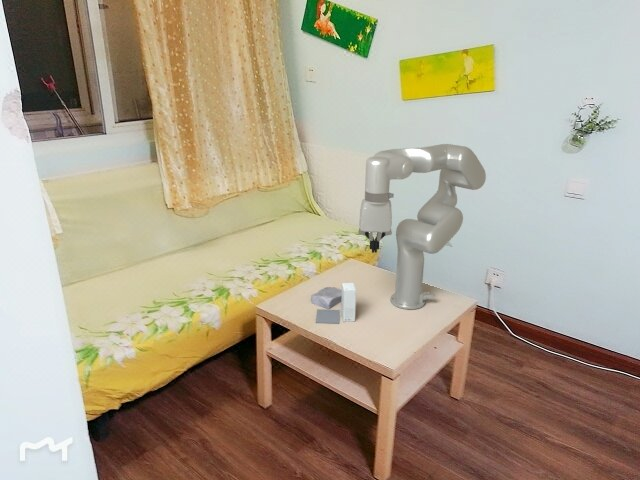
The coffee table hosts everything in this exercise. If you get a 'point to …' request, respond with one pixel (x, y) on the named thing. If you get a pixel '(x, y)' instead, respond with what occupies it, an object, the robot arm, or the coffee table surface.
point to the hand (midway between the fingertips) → (374, 251)
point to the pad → (327, 316)
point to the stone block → (327, 297)
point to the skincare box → (348, 302)
